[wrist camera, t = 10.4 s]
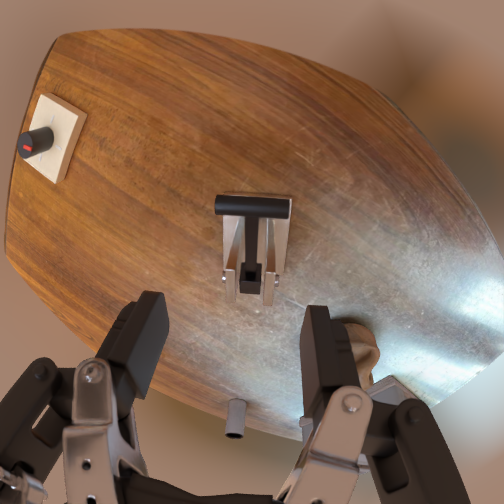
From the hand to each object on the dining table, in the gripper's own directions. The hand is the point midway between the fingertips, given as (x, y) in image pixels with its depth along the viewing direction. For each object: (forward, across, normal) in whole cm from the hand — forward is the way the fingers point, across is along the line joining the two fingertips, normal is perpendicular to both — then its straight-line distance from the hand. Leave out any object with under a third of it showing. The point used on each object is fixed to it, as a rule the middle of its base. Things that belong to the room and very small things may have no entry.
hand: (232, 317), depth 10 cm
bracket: (+27, 0, +10) cm, 29 cm away
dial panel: (+27, +33, -6) cm, 43 cm away
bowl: (+28, -19, +32) cm, 46 cm away
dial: (+25, +33, -6) cm, 42 cm away
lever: (+15, 0, +5) cm, 16 cm away
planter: (+28, +2, +59) cm, 65 cm away
